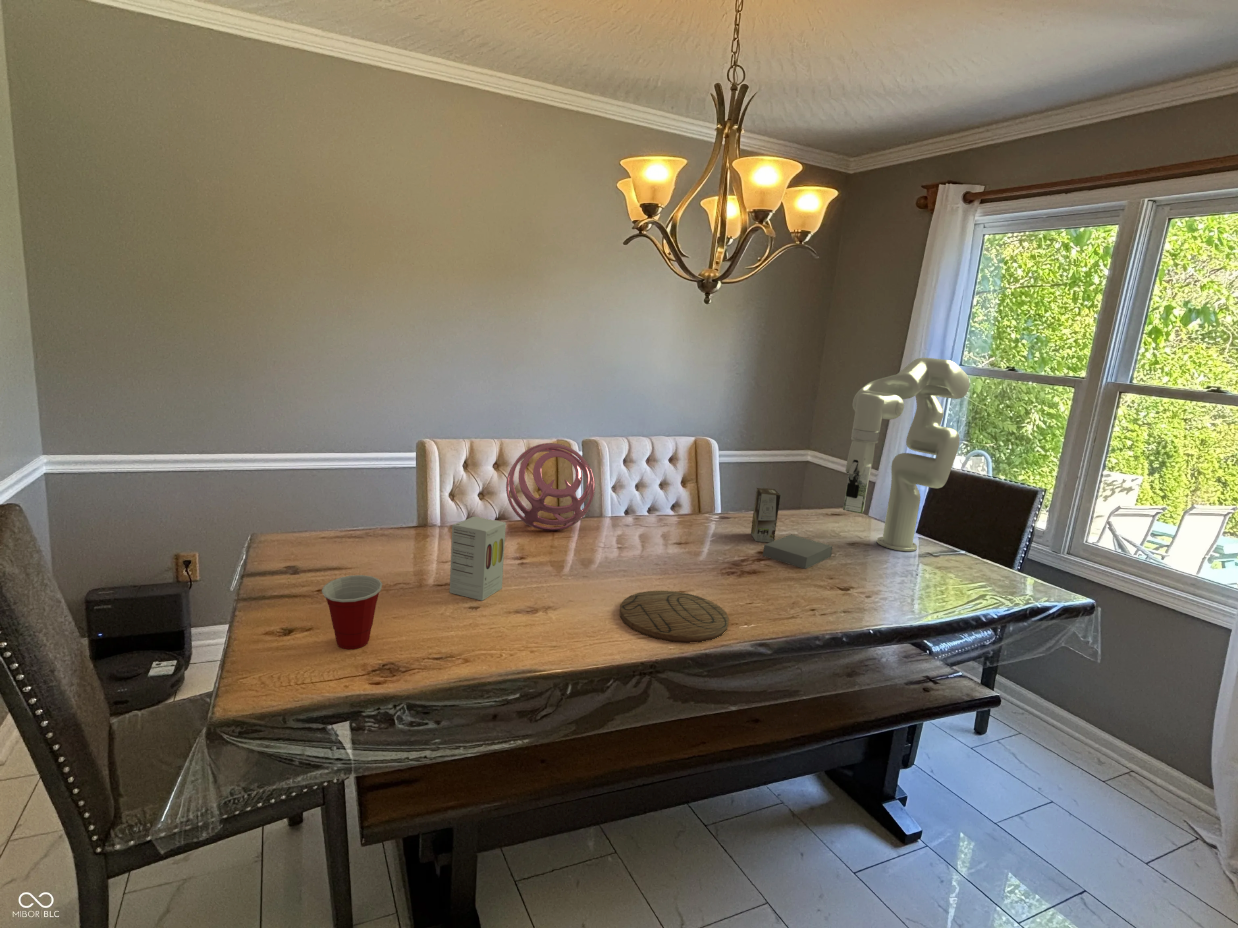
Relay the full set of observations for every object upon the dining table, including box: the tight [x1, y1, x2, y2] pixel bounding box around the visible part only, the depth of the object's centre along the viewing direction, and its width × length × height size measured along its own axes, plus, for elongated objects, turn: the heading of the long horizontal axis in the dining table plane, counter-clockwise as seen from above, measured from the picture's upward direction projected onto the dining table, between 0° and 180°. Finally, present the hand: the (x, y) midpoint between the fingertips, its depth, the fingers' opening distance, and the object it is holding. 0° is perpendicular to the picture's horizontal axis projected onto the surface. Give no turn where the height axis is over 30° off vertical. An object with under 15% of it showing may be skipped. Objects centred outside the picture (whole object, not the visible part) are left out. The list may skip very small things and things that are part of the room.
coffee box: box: [750, 487, 781, 543], centre depth 224 cm, size 9×6×16 cm
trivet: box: [619, 590, 730, 644], centre depth 157 cm, size 25×25×2 cm
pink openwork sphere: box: [505, 442, 596, 532], centre depth 217 cm, size 28×28×27 cm
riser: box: [762, 533, 834, 570], centre depth 209 cm, size 18×14×4 cm
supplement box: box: [449, 516, 507, 601], centre depth 161 cm, size 10×9×17 cm
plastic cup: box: [321, 574, 383, 650], centre depth 131 cm, size 11×11×12 cm
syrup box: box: [842, 464, 872, 514], centre depth 201 cm, size 6×6×14 cm
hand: (855, 494), depth 202 cm, fingers closed on syrup box, 6 cm apart
